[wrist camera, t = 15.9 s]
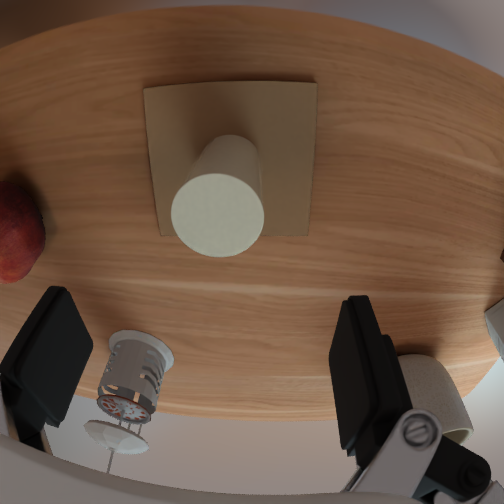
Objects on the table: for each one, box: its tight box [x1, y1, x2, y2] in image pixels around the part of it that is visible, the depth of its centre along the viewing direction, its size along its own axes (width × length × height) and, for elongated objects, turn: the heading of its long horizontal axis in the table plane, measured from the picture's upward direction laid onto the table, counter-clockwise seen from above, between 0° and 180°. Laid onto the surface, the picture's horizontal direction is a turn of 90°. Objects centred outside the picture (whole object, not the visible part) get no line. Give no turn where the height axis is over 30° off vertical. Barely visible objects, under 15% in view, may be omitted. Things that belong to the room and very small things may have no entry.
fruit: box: [0, 181, 45, 284], centre depth 24 cm, size 11×10×10 cm
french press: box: [84, 330, 174, 474], centre depth 30 cm, size 10×12×25 cm
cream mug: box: [171, 135, 264, 257], centre depth 22 cm, size 7×5×10 cm
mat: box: [143, 81, 318, 236], centre depth 26 cm, size 14×14×1 cm
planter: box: [355, 354, 473, 469], centre depth 37 cm, size 17×17×15 cm
